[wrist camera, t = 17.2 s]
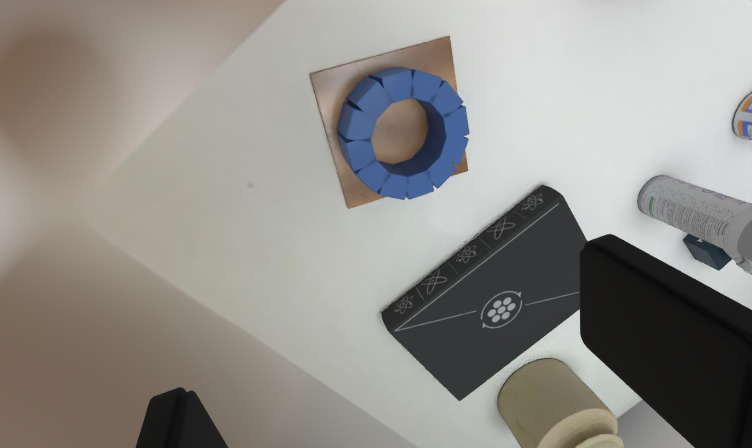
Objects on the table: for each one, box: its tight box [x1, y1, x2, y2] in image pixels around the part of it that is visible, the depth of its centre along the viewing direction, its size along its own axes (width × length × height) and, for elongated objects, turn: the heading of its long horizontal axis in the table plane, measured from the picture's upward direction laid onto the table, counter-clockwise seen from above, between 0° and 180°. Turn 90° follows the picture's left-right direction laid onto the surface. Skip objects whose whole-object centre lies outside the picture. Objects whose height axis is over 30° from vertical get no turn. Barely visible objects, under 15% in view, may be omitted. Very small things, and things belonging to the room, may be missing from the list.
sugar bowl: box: [498, 359, 624, 448], centre depth 50 cm, size 15×11×15 cm
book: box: [382, 185, 587, 401], centre depth 46 cm, size 22×15×3 cm
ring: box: [337, 67, 469, 200], centre depth 35 cm, size 10×10×4 cm
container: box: [638, 175, 752, 261], centre depth 41 cm, size 5×5×15 cm
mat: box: [310, 36, 468, 209], centre depth 37 cm, size 12×12×1 cm
